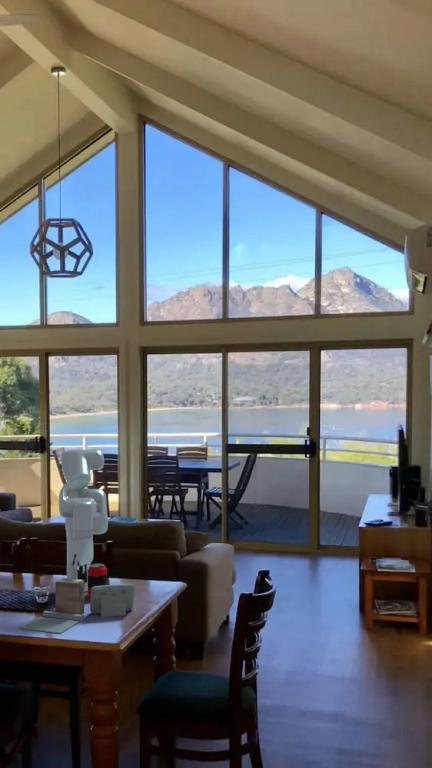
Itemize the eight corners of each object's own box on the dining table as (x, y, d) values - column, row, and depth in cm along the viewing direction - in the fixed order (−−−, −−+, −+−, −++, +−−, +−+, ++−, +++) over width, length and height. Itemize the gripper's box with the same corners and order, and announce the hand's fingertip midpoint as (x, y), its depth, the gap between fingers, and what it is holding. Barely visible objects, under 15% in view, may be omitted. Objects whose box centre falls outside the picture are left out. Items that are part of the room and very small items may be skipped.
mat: (39, 617, 233) (39, 616, 233) (79, 622, 228) (79, 621, 228) (19, 628, 222) (19, 627, 222) (60, 634, 217) (60, 632, 217)
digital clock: (135, 609, 243) (135, 580, 244) (133, 616, 235) (134, 587, 235) (91, 610, 242) (91, 581, 243) (88, 618, 233) (88, 588, 234)
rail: (45, 614, 236) (45, 610, 236) (84, 619, 231) (84, 615, 231) (43, 616, 235) (43, 612, 235) (82, 620, 230) (82, 616, 230)
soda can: (96, 599, 255) (96, 568, 256) (83, 596, 260) (83, 565, 260) (110, 595, 261) (110, 564, 262) (97, 591, 266) (97, 562, 266)
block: (62, 611, 241) (63, 577, 241) (84, 613, 238) (84, 579, 239) (55, 615, 236) (55, 581, 237) (77, 617, 233) (77, 583, 234)
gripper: (84, 529, 255) (83, 577, 254) (63, 537, 241) (63, 587, 240) (101, 531, 252) (100, 578, 252) (81, 538, 238) (81, 588, 238)
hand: (82, 582), depth 246 cm, fingers closed
